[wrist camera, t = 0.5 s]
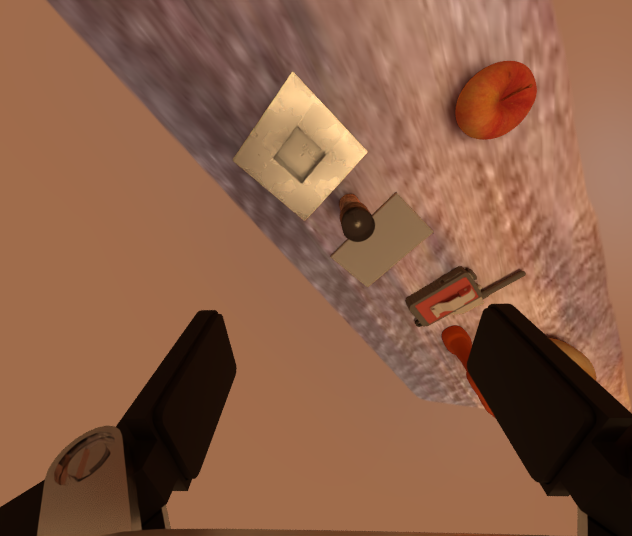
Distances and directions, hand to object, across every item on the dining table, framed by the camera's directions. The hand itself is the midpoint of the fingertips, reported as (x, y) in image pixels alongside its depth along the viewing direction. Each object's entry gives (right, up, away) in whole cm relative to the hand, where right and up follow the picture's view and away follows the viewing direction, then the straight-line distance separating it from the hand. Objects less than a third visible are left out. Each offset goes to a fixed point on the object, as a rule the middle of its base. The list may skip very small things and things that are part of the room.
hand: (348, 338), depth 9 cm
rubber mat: (+9, +7, +32) cm, 34 cm away
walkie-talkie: (+24, -1, +37) cm, 45 cm away
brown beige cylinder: (+4, +12, +29) cm, 32 cm away
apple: (+19, +23, +23) cm, 38 cm away
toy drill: (+30, -15, +45) cm, 56 cm away
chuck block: (-3, +19, +25) cm, 32 cm away
